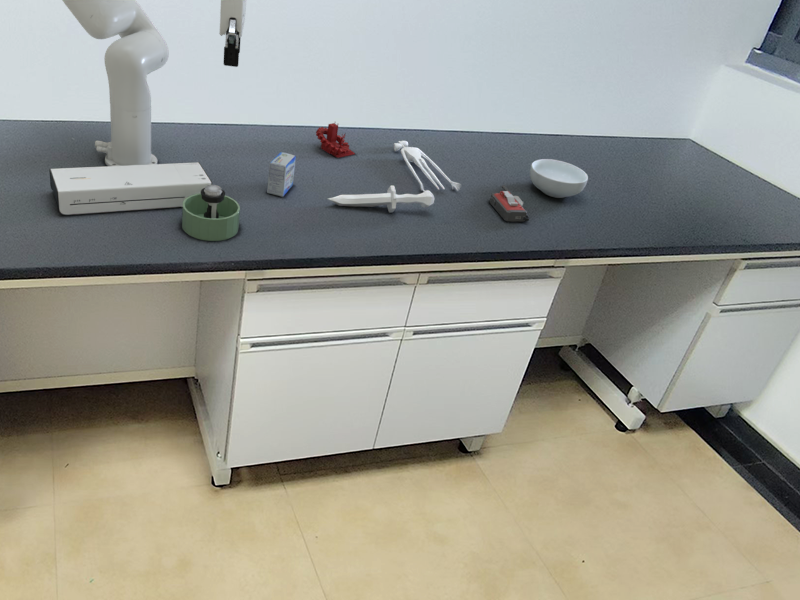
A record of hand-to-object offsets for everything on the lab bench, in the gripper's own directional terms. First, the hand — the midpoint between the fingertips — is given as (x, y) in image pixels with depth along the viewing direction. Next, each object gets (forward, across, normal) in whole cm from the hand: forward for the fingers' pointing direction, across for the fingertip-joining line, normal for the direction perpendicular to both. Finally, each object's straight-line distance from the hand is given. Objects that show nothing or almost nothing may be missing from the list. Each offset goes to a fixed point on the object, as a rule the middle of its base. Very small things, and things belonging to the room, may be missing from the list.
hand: (231, 58), depth 175 cm
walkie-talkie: (+34, -7, +76) cm, 84 cm away
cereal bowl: (+34, -20, +94) cm, 102 cm away
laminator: (+33, +9, -21) cm, 40 cm away
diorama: (+34, -32, +30) cm, 55 cm away
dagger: (+34, +3, +39) cm, 52 cm away
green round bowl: (+33, +19, -2) cm, 38 cm away
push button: (+33, +19, -2) cm, 38 cm away
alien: (+34, -25, +54) cm, 68 cm away
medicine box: (+34, -4, +14) cm, 36 cm away
